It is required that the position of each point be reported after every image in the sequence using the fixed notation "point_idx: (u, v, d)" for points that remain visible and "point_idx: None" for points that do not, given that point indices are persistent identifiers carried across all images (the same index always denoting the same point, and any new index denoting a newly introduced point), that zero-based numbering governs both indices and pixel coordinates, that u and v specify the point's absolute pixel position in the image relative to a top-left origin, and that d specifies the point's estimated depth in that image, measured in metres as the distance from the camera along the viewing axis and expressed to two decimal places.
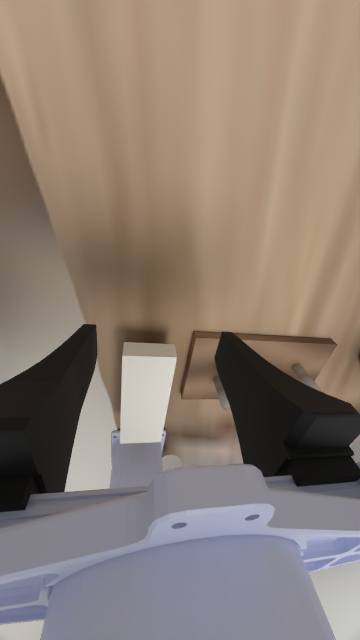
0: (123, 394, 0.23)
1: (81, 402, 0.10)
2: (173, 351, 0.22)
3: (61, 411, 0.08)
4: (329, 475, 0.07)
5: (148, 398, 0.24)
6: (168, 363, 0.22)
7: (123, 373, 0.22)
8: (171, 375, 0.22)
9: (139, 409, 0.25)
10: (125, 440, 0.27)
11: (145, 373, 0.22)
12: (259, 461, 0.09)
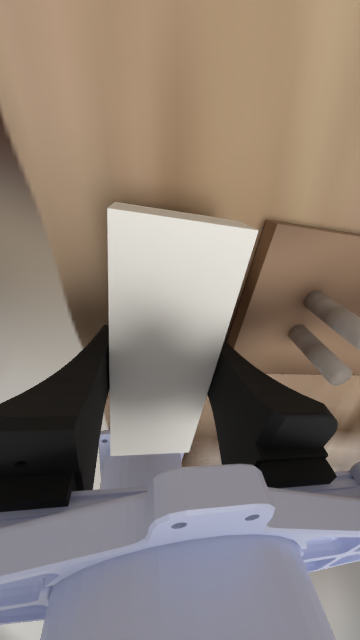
0: (114, 343, 0.10)
1: (104, 402, 0.11)
2: (244, 225, 0.08)
3: (93, 410, 0.08)
4: (300, 477, 0.07)
5: (173, 356, 0.10)
6: (232, 252, 0.08)
7: (112, 277, 0.08)
8: (234, 292, 0.09)
9: (150, 384, 0.11)
10: (121, 450, 0.14)
11: (170, 280, 0.08)
12: (234, 463, 0.09)
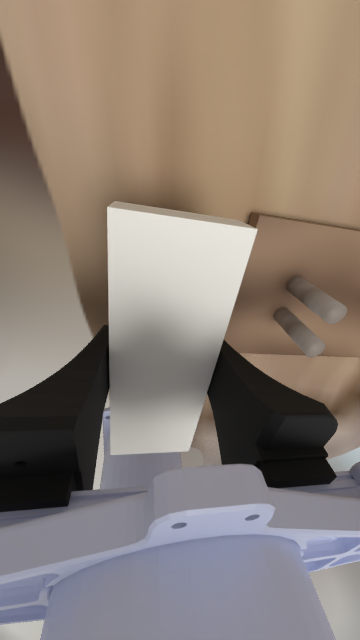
0: (114, 342, 0.10)
1: (104, 402, 0.11)
2: (243, 224, 0.08)
3: (93, 411, 0.08)
4: (300, 477, 0.07)
5: (173, 355, 0.10)
6: (231, 251, 0.08)
7: (112, 275, 0.08)
8: (233, 291, 0.09)
9: (150, 383, 0.11)
10: (121, 448, 0.14)
11: (170, 279, 0.08)
12: (234, 463, 0.09)
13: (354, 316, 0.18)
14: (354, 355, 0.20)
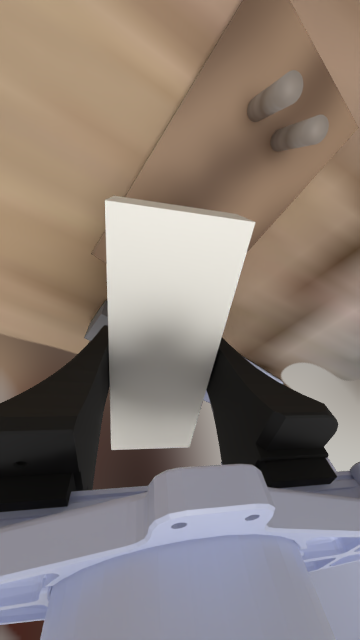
0: (113, 336, 0.10)
1: (104, 402, 0.11)
2: (241, 218, 0.08)
3: (93, 411, 0.08)
4: (301, 478, 0.07)
5: (172, 349, 0.10)
6: (229, 244, 0.08)
7: (111, 269, 0.08)
8: (232, 285, 0.09)
9: (150, 377, 0.11)
10: (121, 443, 0.14)
11: (168, 272, 0.08)
12: (234, 462, 0.09)
13: (236, 188, 0.16)
14: (295, 194, 0.17)
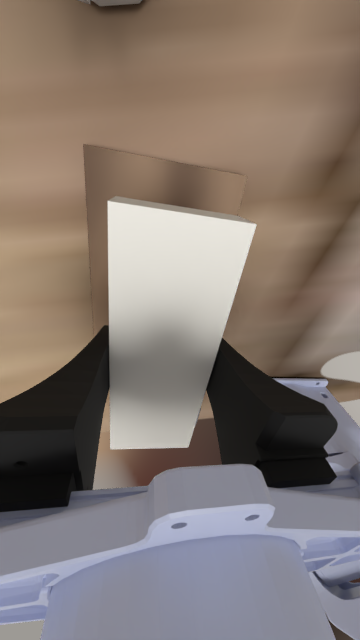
0: (113, 336, 0.10)
1: (104, 402, 0.11)
2: (242, 219, 0.09)
3: (93, 410, 0.08)
4: (300, 477, 0.07)
5: (172, 350, 0.10)
6: (230, 246, 0.08)
7: (112, 269, 0.08)
8: (232, 286, 0.09)
9: (150, 377, 0.11)
10: (121, 443, 0.14)
11: (169, 273, 0.09)
12: (234, 462, 0.09)
13: None
14: None
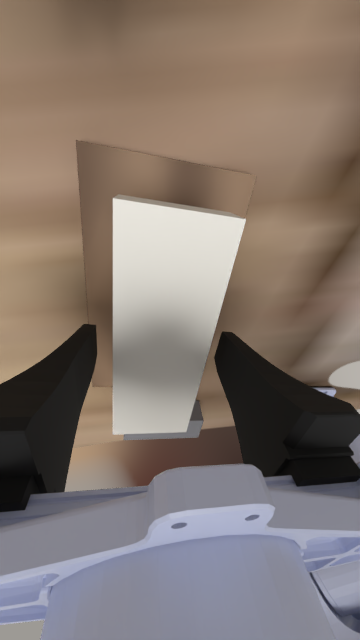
0: (117, 323, 0.11)
1: (81, 402, 0.10)
2: (234, 215, 0.09)
3: (61, 411, 0.08)
4: (329, 475, 0.07)
5: (171, 336, 0.11)
6: (223, 239, 0.09)
7: (116, 260, 0.09)
8: (225, 276, 0.10)
9: (150, 363, 0.12)
10: (122, 428, 0.15)
11: (168, 264, 0.09)
12: (258, 461, 0.09)
13: None
14: None
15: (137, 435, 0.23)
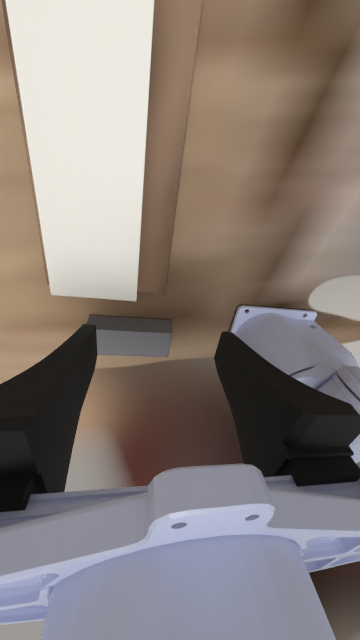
0: (25, 96, 0.09)
1: (81, 402, 0.10)
2: None
3: (61, 411, 0.08)
4: (329, 475, 0.07)
5: (95, 130, 0.10)
6: None
7: None
8: (147, 24, 0.08)
9: (77, 175, 0.11)
10: (61, 285, 0.13)
11: None
12: (259, 461, 0.09)
13: None
14: (185, 112, 0.14)
15: (101, 349, 0.22)
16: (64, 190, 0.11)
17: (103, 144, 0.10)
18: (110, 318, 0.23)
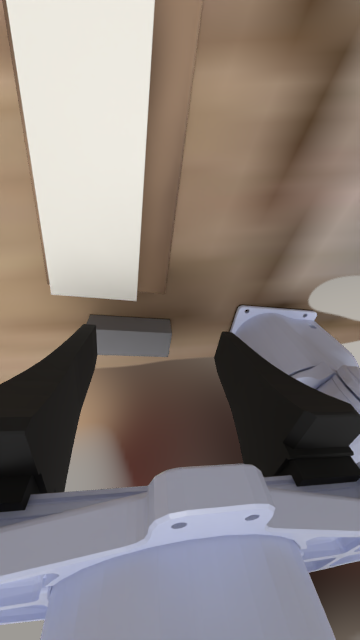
0: (26, 95, 0.09)
1: (81, 402, 0.10)
2: None
3: (61, 411, 0.08)
4: (329, 475, 0.07)
5: (96, 129, 0.10)
6: None
7: None
8: (147, 24, 0.08)
9: (77, 175, 0.11)
10: (61, 285, 0.13)
11: None
12: (258, 461, 0.09)
13: None
14: (185, 112, 0.14)
15: (101, 348, 0.22)
16: (64, 190, 0.11)
17: (103, 144, 0.10)
18: (110, 318, 0.23)
